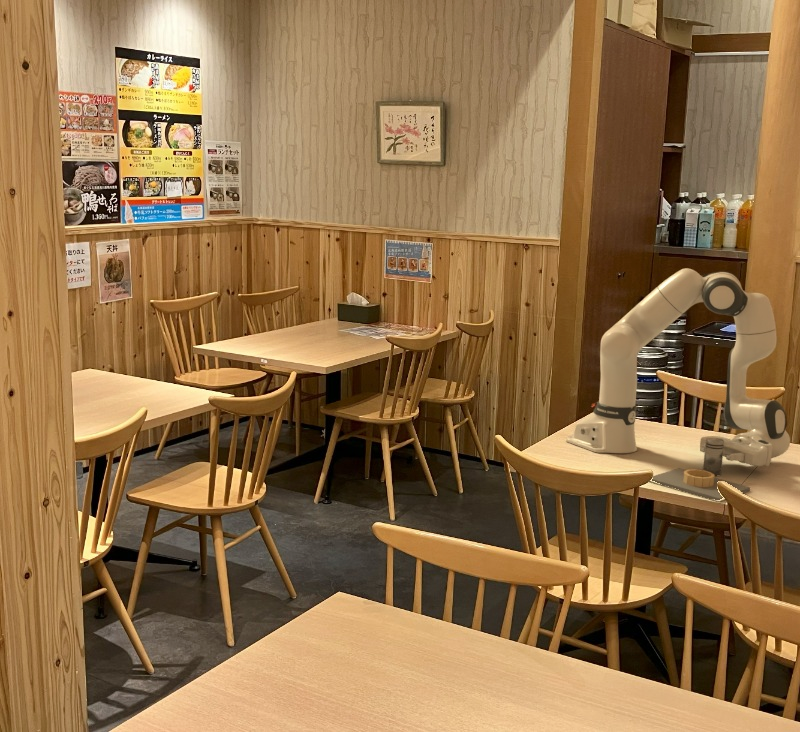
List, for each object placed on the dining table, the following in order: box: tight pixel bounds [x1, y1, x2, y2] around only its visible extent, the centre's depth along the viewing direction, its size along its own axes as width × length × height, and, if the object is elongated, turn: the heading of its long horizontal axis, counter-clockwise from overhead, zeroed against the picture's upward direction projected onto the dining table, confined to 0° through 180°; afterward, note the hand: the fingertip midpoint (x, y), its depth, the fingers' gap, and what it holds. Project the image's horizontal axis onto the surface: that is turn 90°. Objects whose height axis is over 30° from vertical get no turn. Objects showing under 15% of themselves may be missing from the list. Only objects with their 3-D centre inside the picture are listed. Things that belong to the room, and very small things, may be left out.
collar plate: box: [652, 467, 751, 500], centre depth 266 cm, size 22×16×4 cm
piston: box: [702, 438, 724, 477], centre depth 277 cm, size 5×5×10 cm
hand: (715, 453), depth 277 cm, fingers open, 8 cm apart
